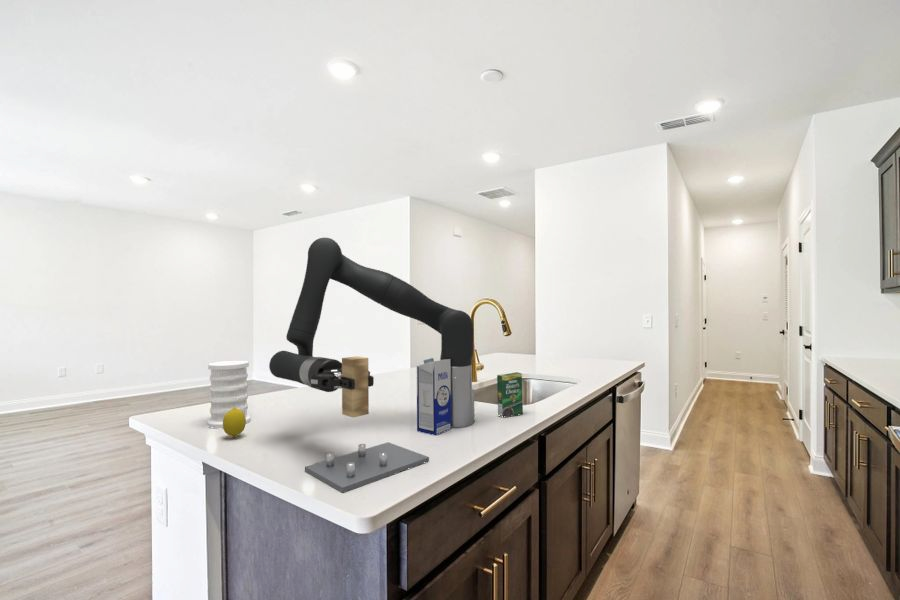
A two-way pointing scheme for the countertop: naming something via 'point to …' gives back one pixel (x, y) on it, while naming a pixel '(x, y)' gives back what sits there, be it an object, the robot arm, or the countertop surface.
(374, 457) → the plate
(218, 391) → the decorative container
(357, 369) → the oak block
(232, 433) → the lemon
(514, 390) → the coffee box
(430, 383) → the milk carton
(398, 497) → the countertop surface
